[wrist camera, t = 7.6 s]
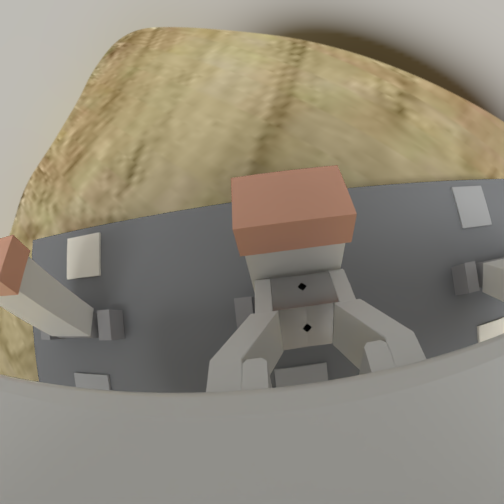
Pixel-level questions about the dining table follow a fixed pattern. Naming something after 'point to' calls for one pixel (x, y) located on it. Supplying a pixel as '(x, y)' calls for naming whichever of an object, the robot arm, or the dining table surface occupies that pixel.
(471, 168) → the dining table surface
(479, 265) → the lever
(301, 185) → the middle lever
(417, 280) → the switch panel
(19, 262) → the lever
